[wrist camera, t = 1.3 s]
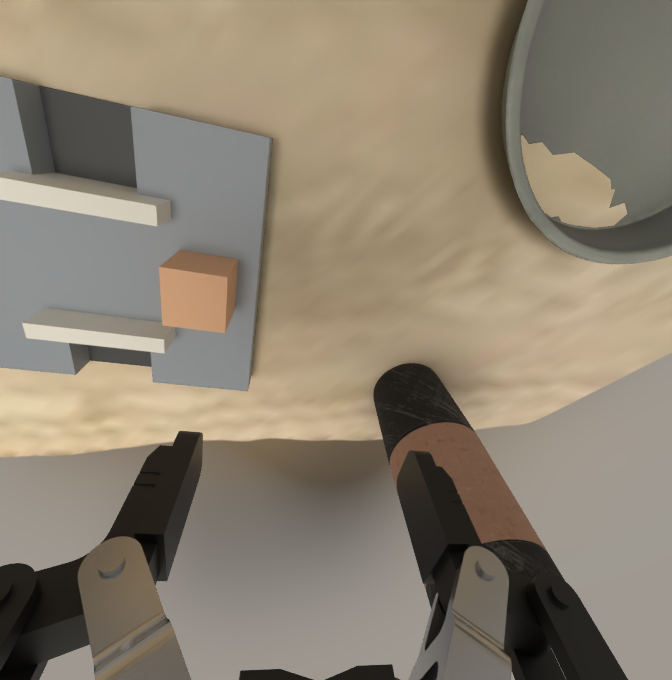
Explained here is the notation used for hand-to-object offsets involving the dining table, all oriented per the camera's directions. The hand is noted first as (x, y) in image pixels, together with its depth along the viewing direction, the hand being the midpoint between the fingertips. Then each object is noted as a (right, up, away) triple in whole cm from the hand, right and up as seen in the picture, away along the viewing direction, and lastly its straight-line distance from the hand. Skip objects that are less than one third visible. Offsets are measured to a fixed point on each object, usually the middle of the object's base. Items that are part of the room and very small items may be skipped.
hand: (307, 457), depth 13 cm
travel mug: (+8, -1, +23) cm, 24 cm away
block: (-8, +9, +12) cm, 17 cm away
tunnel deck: (-16, +11, +13) cm, 23 cm away
